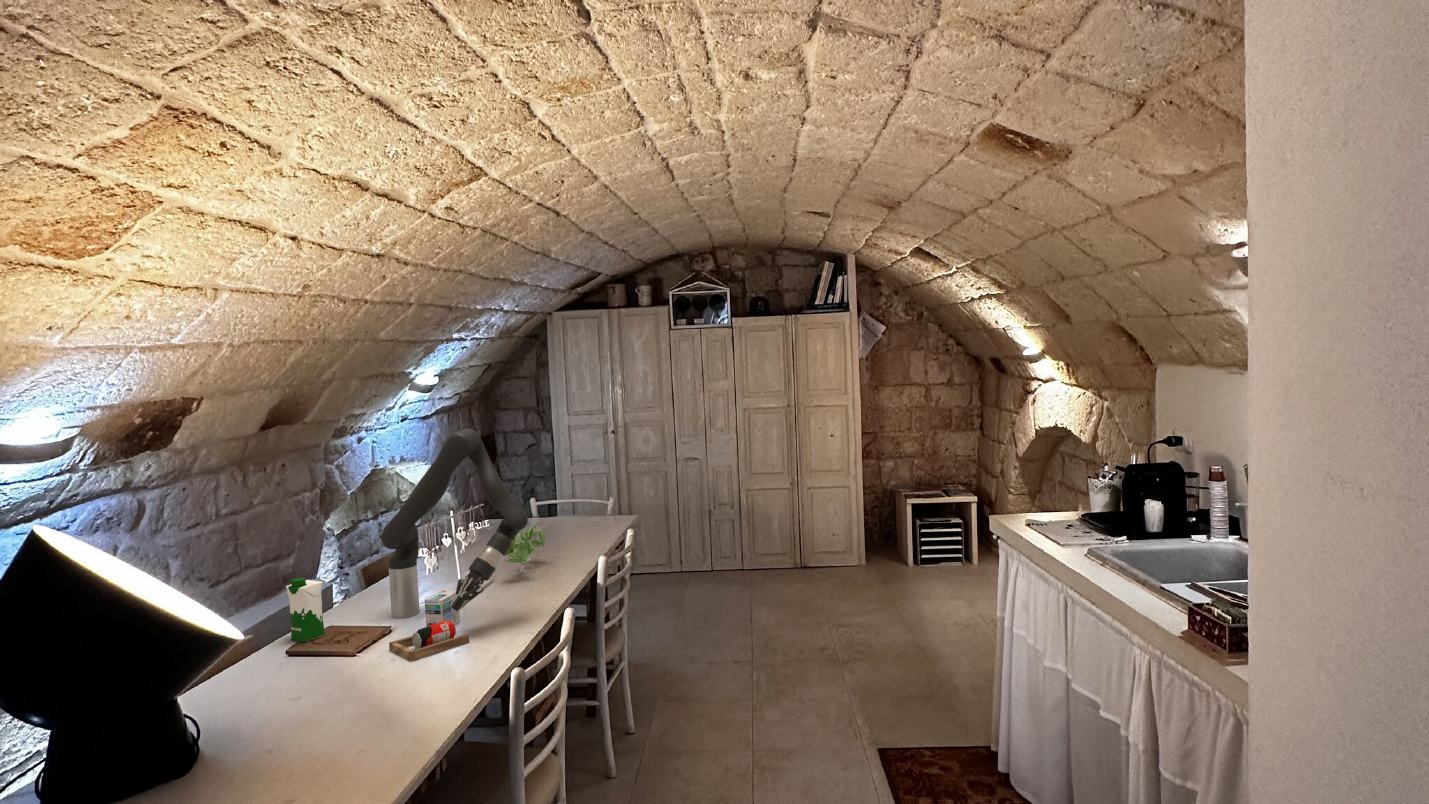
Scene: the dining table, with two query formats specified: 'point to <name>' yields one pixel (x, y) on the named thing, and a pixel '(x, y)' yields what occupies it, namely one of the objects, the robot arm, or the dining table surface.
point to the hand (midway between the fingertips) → (454, 609)
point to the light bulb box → (441, 608)
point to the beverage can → (433, 634)
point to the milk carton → (305, 609)
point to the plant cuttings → (526, 548)
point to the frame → (412, 655)
